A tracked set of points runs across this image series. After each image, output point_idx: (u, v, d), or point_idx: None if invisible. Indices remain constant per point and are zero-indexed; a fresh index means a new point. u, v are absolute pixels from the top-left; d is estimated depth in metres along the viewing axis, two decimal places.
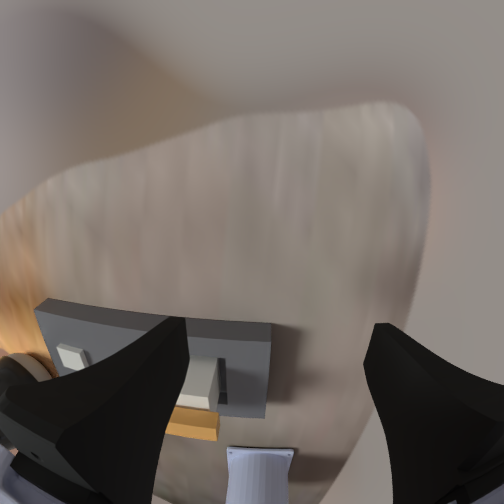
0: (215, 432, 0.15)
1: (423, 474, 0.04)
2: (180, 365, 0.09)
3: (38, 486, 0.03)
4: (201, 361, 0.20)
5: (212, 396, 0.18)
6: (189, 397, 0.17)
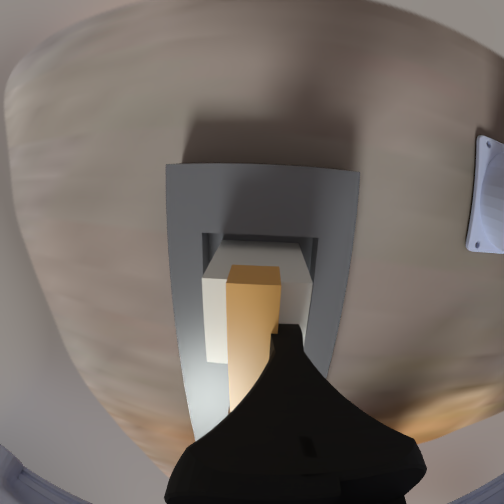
0: (243, 285, 0.08)
1: None
2: None
3: None
4: None
5: None
6: (210, 308, 0.10)
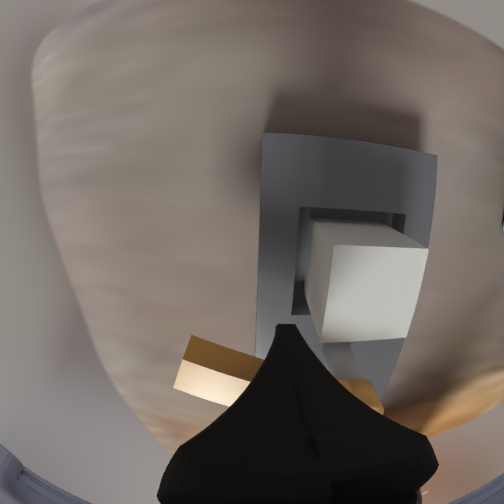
0: (177, 379, 0.09)
1: None
2: None
3: None
4: (311, 246, 0.13)
5: (357, 236, 0.10)
6: (337, 279, 0.10)
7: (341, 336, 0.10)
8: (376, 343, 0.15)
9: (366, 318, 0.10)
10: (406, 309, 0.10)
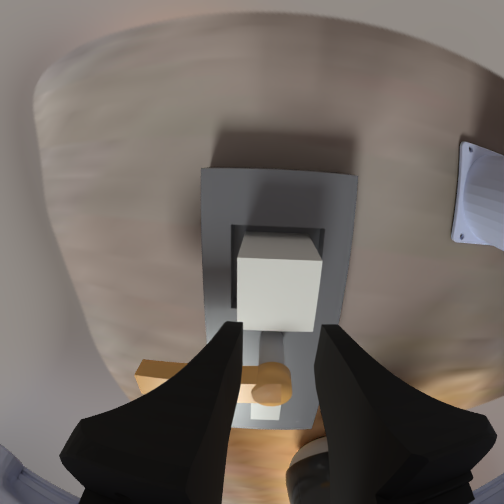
0: (140, 387, 0.14)
1: (350, 491, 0.04)
2: (239, 371, 0.09)
3: None
4: None
5: (265, 249, 0.14)
6: (243, 283, 0.14)
7: (253, 325, 0.14)
8: (308, 336, 0.18)
9: (272, 313, 0.14)
10: (308, 308, 0.14)
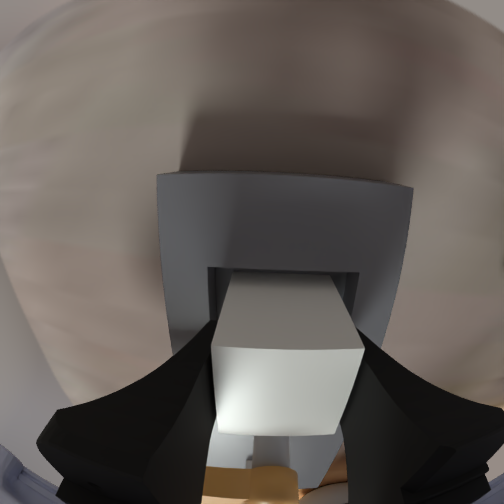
0: None
1: (372, 487, 0.04)
2: None
3: None
4: None
5: (264, 321, 0.08)
6: (223, 381, 0.07)
7: (243, 430, 0.08)
8: None
9: (273, 418, 0.08)
10: (331, 411, 0.07)
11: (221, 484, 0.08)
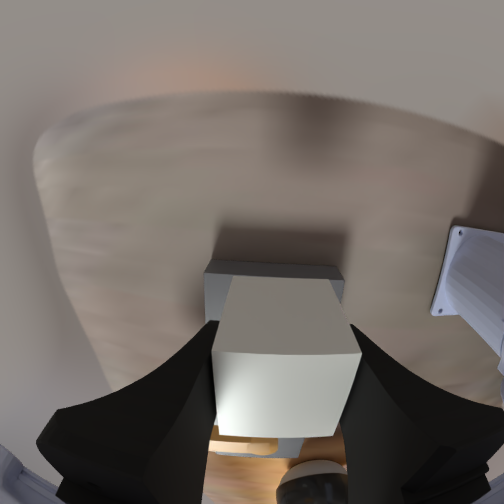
0: None
1: (372, 487, 0.04)
2: None
3: None
4: None
5: (263, 326, 0.08)
6: (224, 385, 0.07)
7: (243, 432, 0.08)
8: None
9: (272, 420, 0.08)
10: (329, 413, 0.08)
11: None
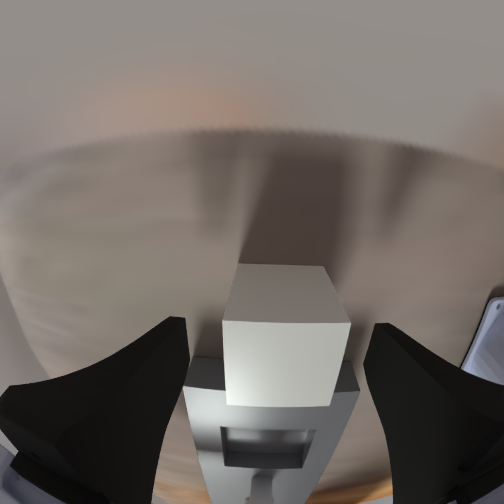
0: None
1: (423, 474, 0.04)
2: (180, 365, 0.09)
3: (38, 486, 0.03)
4: None
5: (266, 301, 0.10)
6: (232, 353, 0.09)
7: (248, 401, 0.09)
8: (295, 478, 0.16)
9: (274, 388, 0.09)
10: (325, 381, 0.09)
11: None
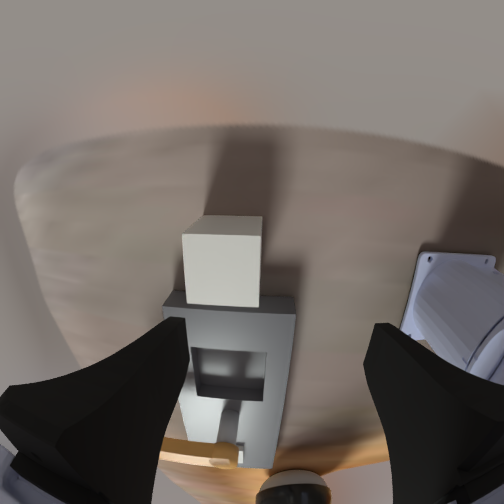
0: None
1: (423, 474, 0.04)
2: (180, 365, 0.09)
3: (38, 486, 0.03)
4: None
5: (212, 228, 0.15)
6: (188, 257, 0.14)
7: (201, 299, 0.15)
8: (259, 415, 0.21)
9: (217, 287, 0.15)
10: (251, 283, 0.15)
11: (199, 450, 0.17)
